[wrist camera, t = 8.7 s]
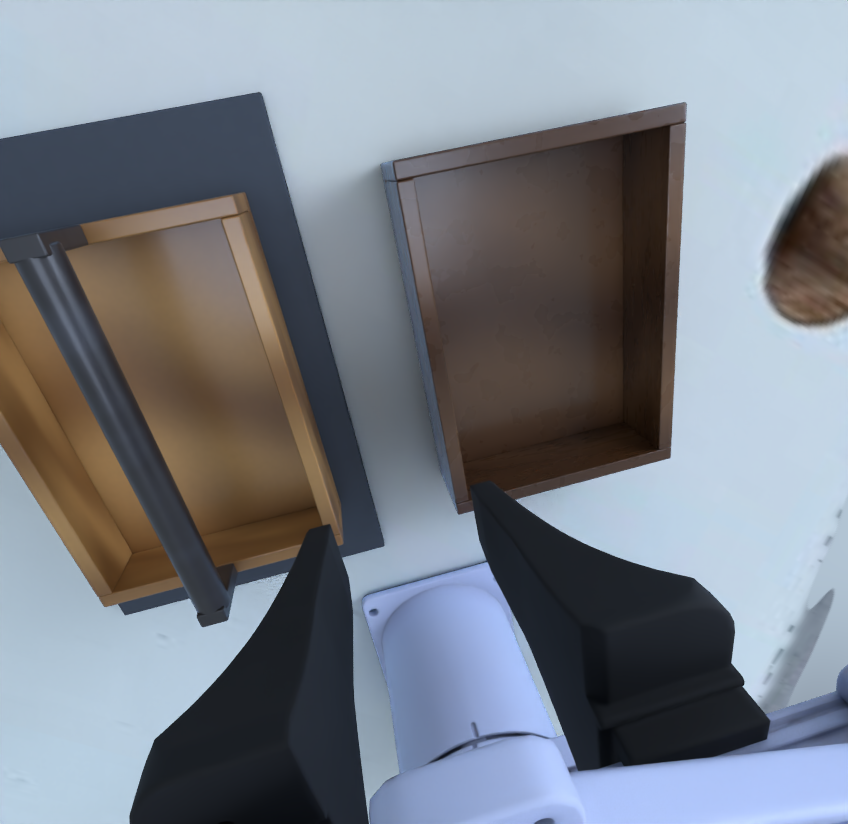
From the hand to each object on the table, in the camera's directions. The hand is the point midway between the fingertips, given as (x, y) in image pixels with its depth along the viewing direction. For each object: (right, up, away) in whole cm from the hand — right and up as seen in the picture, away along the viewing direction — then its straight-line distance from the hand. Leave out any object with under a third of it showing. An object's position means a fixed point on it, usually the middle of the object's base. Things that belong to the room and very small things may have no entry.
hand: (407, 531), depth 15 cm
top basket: (-10, +4, +6) cm, 12 cm away
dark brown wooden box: (+5, +8, +8) cm, 12 cm away
